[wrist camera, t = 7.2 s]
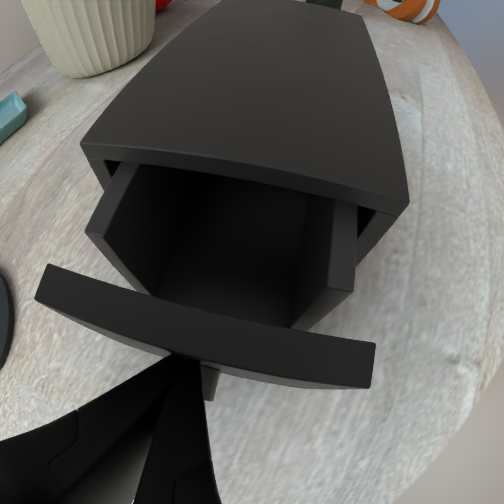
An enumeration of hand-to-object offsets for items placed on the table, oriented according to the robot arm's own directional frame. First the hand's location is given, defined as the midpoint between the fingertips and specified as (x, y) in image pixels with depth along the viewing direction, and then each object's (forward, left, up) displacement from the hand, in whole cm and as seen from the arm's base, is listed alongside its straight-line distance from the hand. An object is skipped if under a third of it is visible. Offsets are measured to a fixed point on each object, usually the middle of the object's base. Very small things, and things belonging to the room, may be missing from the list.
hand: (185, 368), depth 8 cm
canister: (+36, +15, -7) cm, 39 cm away
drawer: (+9, -2, -6) cm, 11 cm away
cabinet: (+15, -4, -7) cm, 17 cm away
